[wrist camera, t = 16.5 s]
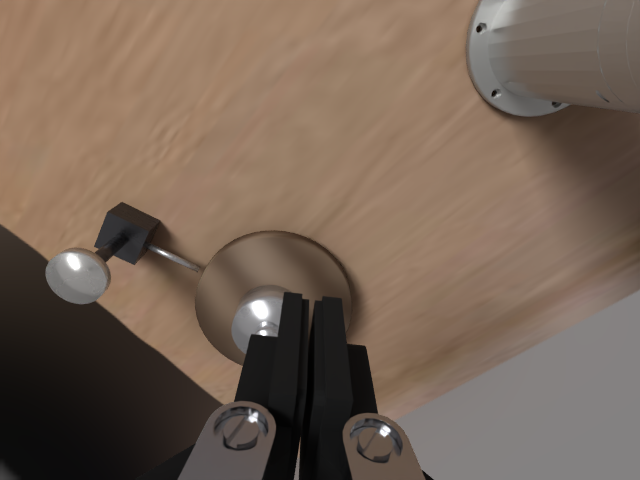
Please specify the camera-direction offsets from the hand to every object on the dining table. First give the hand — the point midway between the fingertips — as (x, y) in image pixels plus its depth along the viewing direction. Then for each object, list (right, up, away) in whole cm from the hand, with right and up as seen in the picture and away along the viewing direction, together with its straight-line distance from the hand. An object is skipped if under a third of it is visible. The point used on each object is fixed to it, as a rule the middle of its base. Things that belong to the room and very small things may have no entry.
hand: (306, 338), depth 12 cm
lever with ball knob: (-16, +3, +30) cm, 34 cm away
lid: (-5, -5, +30) cm, 31 cm away
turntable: (-4, -4, +32) cm, 32 cm away
